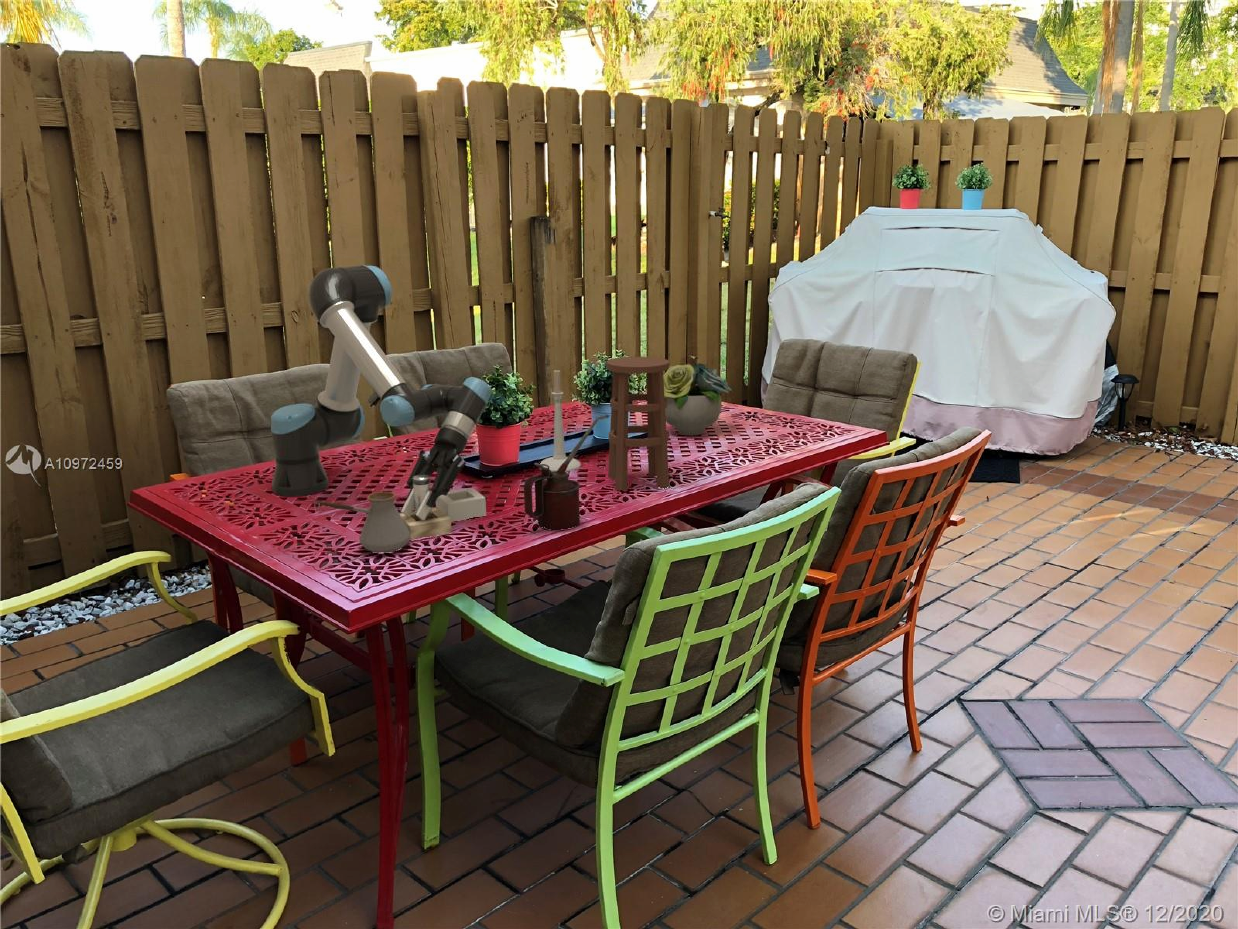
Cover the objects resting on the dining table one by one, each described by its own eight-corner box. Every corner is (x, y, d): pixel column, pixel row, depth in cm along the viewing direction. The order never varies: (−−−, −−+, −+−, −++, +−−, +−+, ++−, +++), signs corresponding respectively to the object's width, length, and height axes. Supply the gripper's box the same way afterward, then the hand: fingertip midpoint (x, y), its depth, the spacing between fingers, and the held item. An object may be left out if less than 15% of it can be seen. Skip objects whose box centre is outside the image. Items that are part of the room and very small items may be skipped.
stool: (647, 370, 229) (588, 363, 240) (647, 497, 239) (590, 485, 250) (686, 359, 245) (628, 353, 256) (685, 480, 255) (629, 469, 265)
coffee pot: (397, 535, 213) (392, 476, 209) (420, 549, 205) (415, 487, 200) (311, 558, 200) (303, 495, 195) (332, 573, 191) (325, 508, 187)
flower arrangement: (688, 421, 325) (689, 355, 318) (740, 433, 307) (742, 363, 300) (639, 432, 309) (639, 363, 302) (692, 446, 291) (693, 372, 284)
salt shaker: (419, 535, 213) (415, 480, 209) (414, 530, 216) (410, 476, 212) (435, 532, 215) (432, 477, 211) (430, 527, 218) (426, 473, 214)
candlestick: (534, 462, 273) (531, 366, 265) (574, 458, 277) (572, 364, 269) (544, 474, 262) (540, 374, 253) (585, 469, 265) (583, 371, 257)
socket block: (411, 542, 209) (409, 526, 208) (399, 529, 217) (398, 514, 216) (451, 534, 213) (450, 518, 212) (438, 522, 222) (437, 507, 221)
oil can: (544, 539, 210) (540, 437, 203) (515, 528, 217) (510, 430, 210) (625, 510, 229) (624, 417, 222) (596, 501, 237) (594, 410, 230)
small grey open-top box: (448, 523, 221) (447, 504, 220) (436, 511, 230) (435, 493, 228) (486, 516, 226) (485, 497, 224) (472, 505, 234) (471, 487, 233)
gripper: (488, 446, 218) (447, 529, 209) (436, 437, 227) (395, 517, 218) (473, 430, 213) (431, 514, 204) (420, 421, 221) (377, 502, 212)
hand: (412, 515), depth 211 cm, fingers closed on salt shaker, 4 cm apart
